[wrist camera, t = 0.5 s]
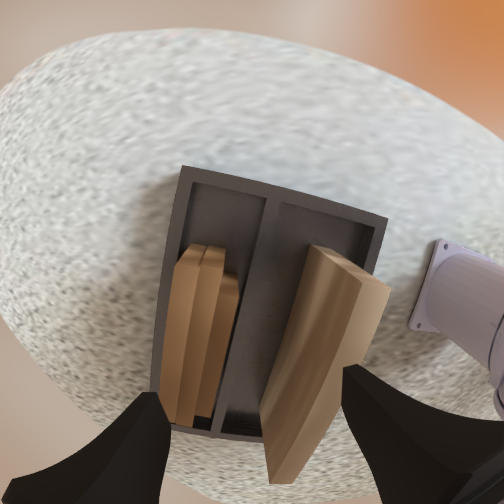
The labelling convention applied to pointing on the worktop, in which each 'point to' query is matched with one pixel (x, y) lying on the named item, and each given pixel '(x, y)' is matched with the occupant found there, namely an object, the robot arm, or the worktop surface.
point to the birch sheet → (317, 357)
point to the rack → (254, 276)
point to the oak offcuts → (196, 333)
